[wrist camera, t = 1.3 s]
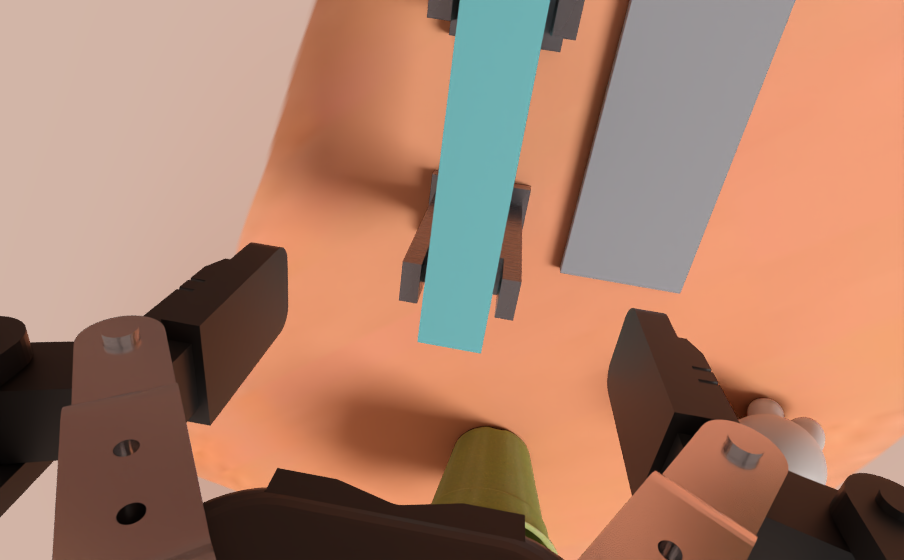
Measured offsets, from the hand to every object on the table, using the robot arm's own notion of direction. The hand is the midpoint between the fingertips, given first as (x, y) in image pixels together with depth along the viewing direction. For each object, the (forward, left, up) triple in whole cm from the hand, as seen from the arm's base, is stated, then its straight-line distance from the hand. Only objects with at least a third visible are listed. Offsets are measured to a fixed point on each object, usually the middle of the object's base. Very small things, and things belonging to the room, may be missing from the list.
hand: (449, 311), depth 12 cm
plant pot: (+31, +5, -27) cm, 41 cm away
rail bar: (0, 0, -17) cm, 17 cm away
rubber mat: (-1, +11, -27) cm, 29 cm away
